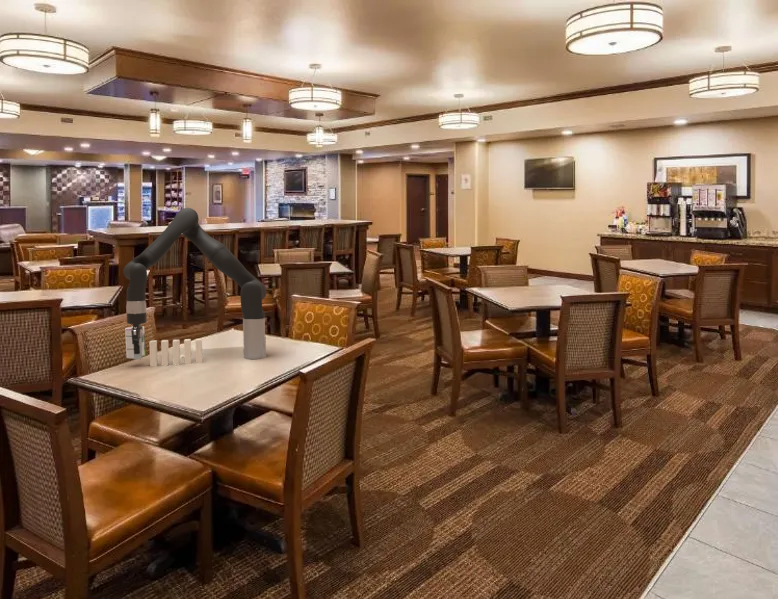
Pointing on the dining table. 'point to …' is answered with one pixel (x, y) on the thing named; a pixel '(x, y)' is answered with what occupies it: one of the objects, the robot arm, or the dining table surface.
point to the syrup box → (130, 346)
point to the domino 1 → (139, 356)
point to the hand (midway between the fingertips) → (137, 352)
